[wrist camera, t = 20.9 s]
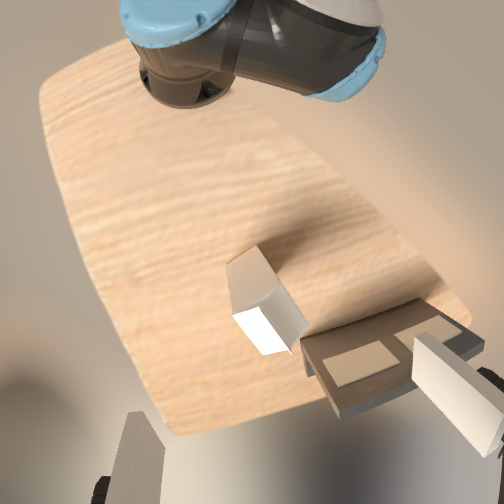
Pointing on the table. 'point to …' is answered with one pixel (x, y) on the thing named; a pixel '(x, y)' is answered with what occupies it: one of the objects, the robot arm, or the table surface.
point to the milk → (263, 303)
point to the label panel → (379, 355)
